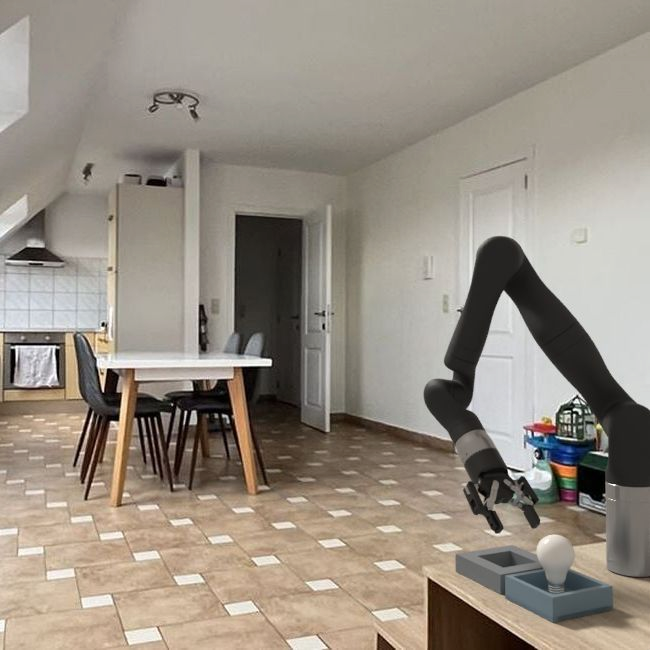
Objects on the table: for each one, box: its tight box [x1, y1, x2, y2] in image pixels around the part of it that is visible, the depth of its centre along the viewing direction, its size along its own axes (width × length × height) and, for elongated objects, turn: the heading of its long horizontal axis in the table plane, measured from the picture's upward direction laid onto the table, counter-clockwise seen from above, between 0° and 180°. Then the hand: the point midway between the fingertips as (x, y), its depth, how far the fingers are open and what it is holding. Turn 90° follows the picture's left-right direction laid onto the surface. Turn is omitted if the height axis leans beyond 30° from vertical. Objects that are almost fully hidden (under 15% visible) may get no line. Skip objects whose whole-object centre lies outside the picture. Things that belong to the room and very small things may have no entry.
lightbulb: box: [535, 533, 576, 595], centre depth 125 cm, size 6×6×11 cm
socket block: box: [455, 544, 543, 595], centre depth 138 cm, size 14×14×4 cm
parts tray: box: [504, 568, 614, 623], centre depth 124 cm, size 13×12×4 cm
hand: (518, 528), depth 134 cm, fingers open, 8 cm apart
